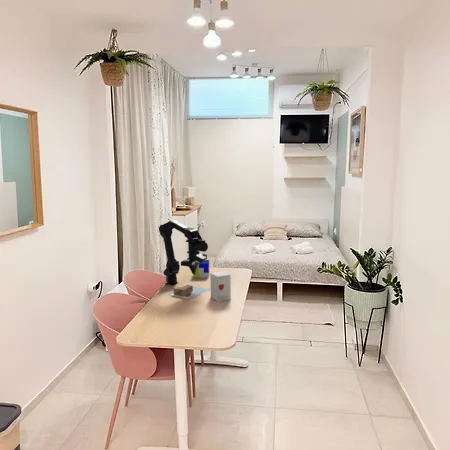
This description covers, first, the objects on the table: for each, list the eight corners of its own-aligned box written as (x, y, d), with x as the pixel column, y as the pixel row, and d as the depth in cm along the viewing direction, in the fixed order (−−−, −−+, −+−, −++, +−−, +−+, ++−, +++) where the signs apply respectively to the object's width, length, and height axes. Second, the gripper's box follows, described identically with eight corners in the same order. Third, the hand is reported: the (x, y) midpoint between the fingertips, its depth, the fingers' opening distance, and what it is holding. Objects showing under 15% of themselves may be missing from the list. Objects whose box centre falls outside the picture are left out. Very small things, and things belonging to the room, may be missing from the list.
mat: (165, 294, 261) (165, 294, 261) (187, 285, 279) (187, 285, 279) (189, 299, 251) (189, 299, 251) (211, 289, 270) (211, 289, 269)
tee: (173, 294, 260) (173, 288, 260) (183, 290, 269) (183, 284, 268) (186, 297, 255) (186, 290, 254) (196, 292, 263) (196, 286, 263)
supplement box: (217, 302, 246) (216, 276, 243) (210, 297, 253) (209, 273, 251) (231, 299, 250) (230, 274, 247) (224, 295, 258) (223, 270, 255)
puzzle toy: (208, 277, 297) (208, 263, 296) (194, 277, 297) (193, 263, 296) (209, 273, 307) (209, 259, 306) (195, 273, 307) (195, 260, 306)
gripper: (194, 253, 254) (195, 279, 256) (212, 248, 269) (213, 272, 272) (179, 252, 260) (180, 277, 262) (197, 246, 275) (198, 270, 277)
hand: (193, 274), depth 268 cm, fingers closed
